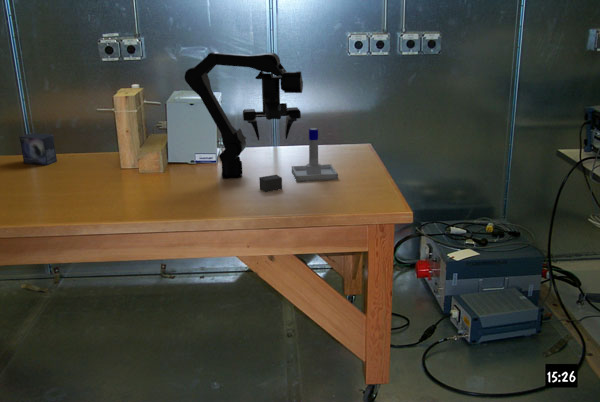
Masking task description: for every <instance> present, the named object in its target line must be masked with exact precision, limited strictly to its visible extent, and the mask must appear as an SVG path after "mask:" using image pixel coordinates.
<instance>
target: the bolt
mask: <svg viewBox="0 0 600 402" xmlns="http://www.w3.org/2000/svg"><path fill="white" fill-rule="evenodd" d="M308 149H309V150H308V153H309V154H308V157H309V158H308V163H307V164H306V165H305V166H306V173H307V174H308V175H316V174H321V165H322V164H321V163H319V129H318V128H317V127H311V128H309V129H308Z"/></svg>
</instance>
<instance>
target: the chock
mask: <svg viewBox="0 0 600 402" xmlns="http://www.w3.org/2000/svg"><path fill="white" fill-rule="evenodd" d="M258 180H259V190H261V191H262V190H263V191H262V192H264V193H269V192H274V191H273V190H275V191H279V190H278V189H281V190H283V178H282V177H281V176H280V175H278V174H272V175H265V176H260V177H259V179H258ZM268 191H269V192H268Z"/></svg>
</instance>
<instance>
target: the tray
mask: <svg viewBox="0 0 600 402" xmlns="http://www.w3.org/2000/svg"><path fill="white" fill-rule="evenodd" d="M291 173H292V176H293V175H294V176H293V177H295V178H294V180H295V179H296V180H295V181H303V182H315V181H316V180H321V181H337V180H339V174H338V171H336V169H335V168H334V166H333V165H332V163H329V164H326V163H325V164H321V174H316V175H308V174H307V173H306V165H291ZM316 182H317V181H316Z"/></svg>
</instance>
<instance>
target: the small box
mask: <svg viewBox="0 0 600 402" xmlns="http://www.w3.org/2000/svg"><path fill="white" fill-rule="evenodd" d="M54 140H55V137H54V134H51V133H50V134H49V133H37V132H29V133H26V134H24V135H21V136H19V141H20V142H19V143H20V148H21V154H22V159H23V164H25V163H26V165H37V166H38V165H39V166H49V165H52V164H54V163H56V162H58V159H57V152H56V144H55V141H54Z"/></svg>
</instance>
